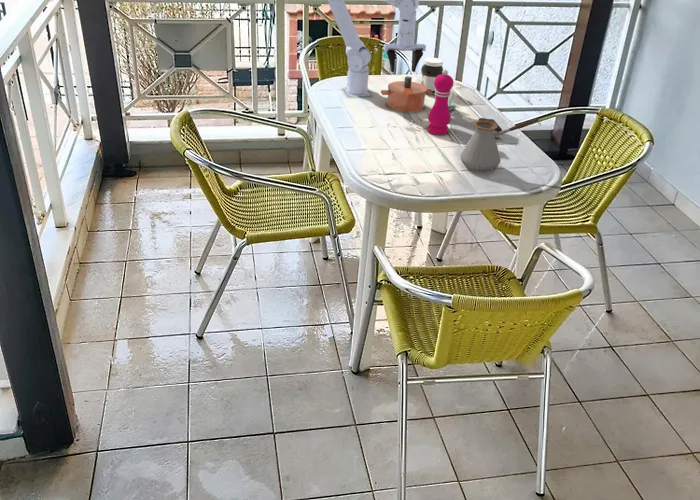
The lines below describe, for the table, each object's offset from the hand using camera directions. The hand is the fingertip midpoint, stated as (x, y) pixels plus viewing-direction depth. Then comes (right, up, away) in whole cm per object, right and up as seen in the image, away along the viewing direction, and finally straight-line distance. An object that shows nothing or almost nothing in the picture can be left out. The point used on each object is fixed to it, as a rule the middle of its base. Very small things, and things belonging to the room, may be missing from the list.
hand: (402, 71), depth 237 cm
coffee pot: (+24, -39, -42) cm, 62 cm away
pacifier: (+15, -13, 0) cm, 20 cm away
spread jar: (+13, -4, +15) cm, 21 cm away
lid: (+1, -7, -4) cm, 8 cm away
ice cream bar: (+28, -24, -17) cm, 40 cm away
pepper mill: (+10, -25, -20) cm, 33 cm away
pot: (+1, -13, 0) cm, 13 cm away
